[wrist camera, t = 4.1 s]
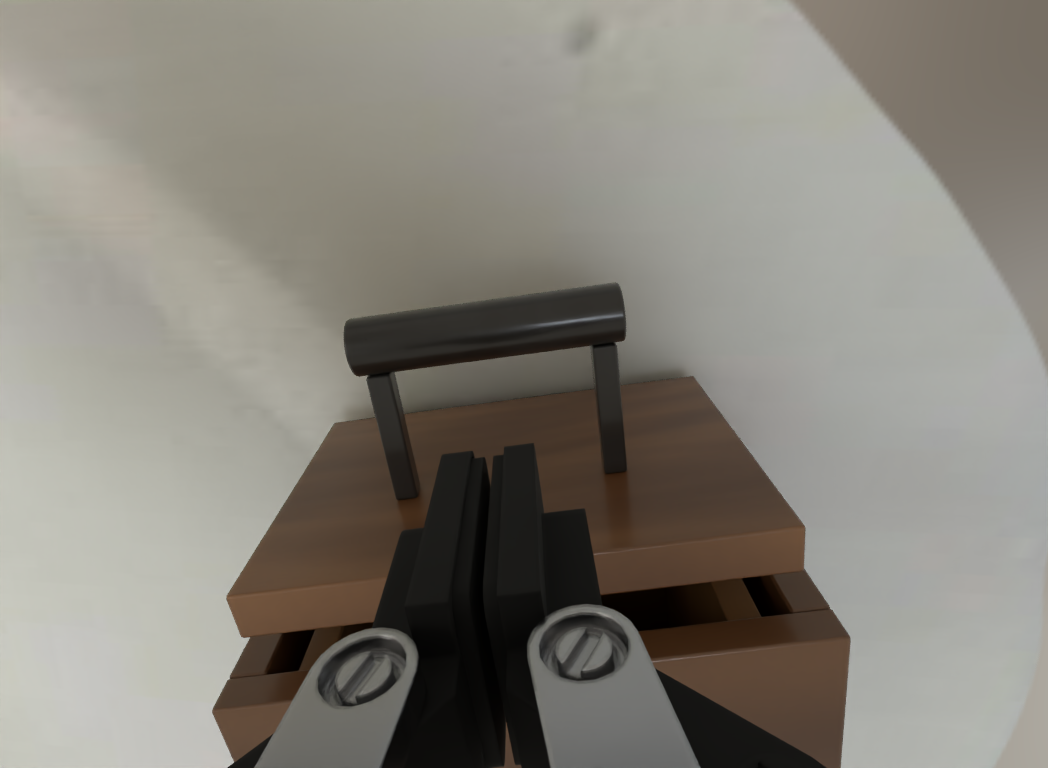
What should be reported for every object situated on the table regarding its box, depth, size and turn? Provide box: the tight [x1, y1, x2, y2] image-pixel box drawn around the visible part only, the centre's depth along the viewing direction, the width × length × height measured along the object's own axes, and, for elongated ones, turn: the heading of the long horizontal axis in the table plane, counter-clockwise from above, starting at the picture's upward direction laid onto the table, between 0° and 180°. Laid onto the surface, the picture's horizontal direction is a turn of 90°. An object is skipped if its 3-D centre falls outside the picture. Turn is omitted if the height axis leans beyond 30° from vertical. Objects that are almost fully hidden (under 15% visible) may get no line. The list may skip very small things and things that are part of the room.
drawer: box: [227, 283, 805, 671], centre depth 20 cm, size 22×13×9 cm, turn 8°
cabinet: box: [212, 569, 850, 768], centre depth 22 cm, size 18×14×11 cm
